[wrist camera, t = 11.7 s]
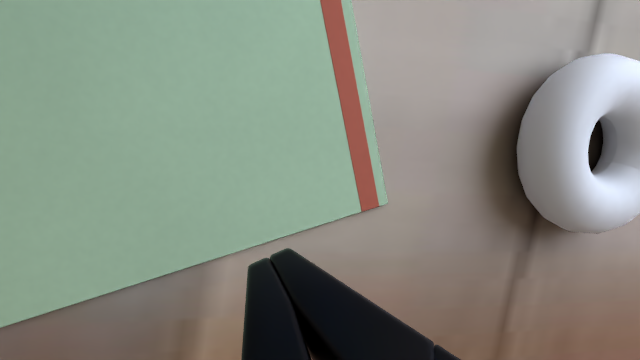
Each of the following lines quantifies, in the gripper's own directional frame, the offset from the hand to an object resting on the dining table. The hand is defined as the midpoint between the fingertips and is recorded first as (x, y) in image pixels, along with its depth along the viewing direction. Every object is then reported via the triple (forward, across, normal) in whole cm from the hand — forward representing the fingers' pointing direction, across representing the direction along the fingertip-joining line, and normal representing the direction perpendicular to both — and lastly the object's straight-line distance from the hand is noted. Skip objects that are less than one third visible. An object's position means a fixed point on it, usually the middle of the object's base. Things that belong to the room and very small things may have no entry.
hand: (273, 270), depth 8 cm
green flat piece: (+11, +4, +1) cm, 12 cm away
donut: (+8, -20, +10) cm, 23 cm away
